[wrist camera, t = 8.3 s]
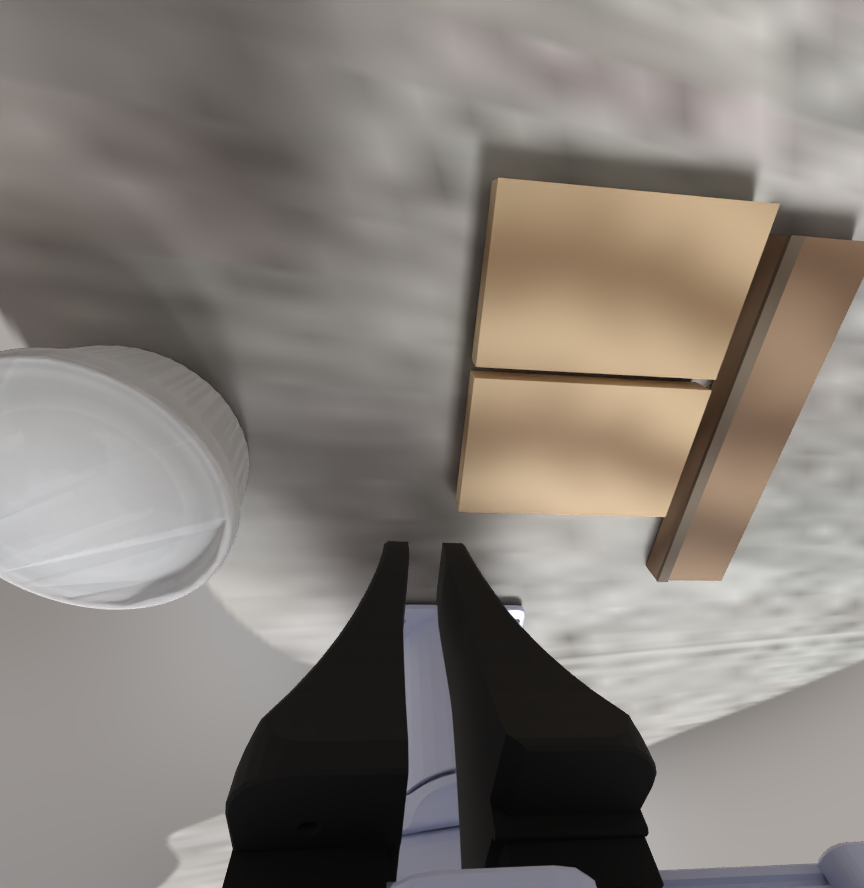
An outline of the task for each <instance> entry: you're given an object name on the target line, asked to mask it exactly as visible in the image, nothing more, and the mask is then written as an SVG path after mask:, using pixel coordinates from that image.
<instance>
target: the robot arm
mask: <svg viewBox="0 0 864 888" xmlns="http://www.w3.org/2000/svg"><path fill="white" fill-rule="evenodd" d="M408 566H409V547H408V542H395V541H388V542H387V543H385V544H384V549H383V553H382V556H381V559H380V562H379V565H378V567H377V570H376V572H375V574H374V576H373V579H372V581H371V583H370V585H369V587H368V589H367V591H366V593H365V595H364V596H363V598H362V600H361V602H360V603H359V605H358V607H357V609H356V610H355V612H354V614H353V615H352V617H351V618H350V620H349V621H348V623H347V624H346V626H345V627H344V629H343V630H342V632H341V633H340V635H339V636H338V637H337V639H336V640H335V641H334V643H333V644H332V645H331V646H330V648H329V649H328V650H327V652H326V653H325V654H324V655H323V657H322V658H321V659H320V660H319V661H318V663H317V664H316V665H315V666H314V667H313V668H312V669H311V670H310V672H309V673H308V674H307V675H306V676H305V677H304V678H303V679H302V680H301V681H300V682H299V683H298V685H297V686H296V687H295V688H294V689H293V690H292V691H291V692H290V693H289V694H288V695H287V696H285V697H284V699H282V700H281V701H280V702H279V703H278V704H277V705H276V706H275V707H274V708H273V709H272V710H271V711H269V713H267V714H266V715H265V716H264V717H263V718H262V719H261V721H260V722H259V724H258V726H257V728H256V730H255V731H254V733H253V735H252V737H251V739H250V741H249V743H248V745H247V747H246V749H245V751H244V753H243V755H242V758H241V760H240V762H239V765H238V767H237V770H236V772H235V776H234V779H233V782H232V785H231V788H230V792H229V795H228V798H227V801H226V811H225V814H226V819H227V824H228V828H229V833H230V838H231V843H232V847H233V851H232V854H231V858H230V862H229V865H228V869H227V872H226V876H225V880H224V883H223V887H222V888H864V842H846V843H839V844H836V845H834V846H832V847H830V848H829V849H827V850H826V851H825V852H824V853H823V854H822V855H821V857H820V858H819V860H818V863H817V864H794V865H772V866H748V867H725V868H702V869H679V870H658V868H657V866H656V863H655V861H654V858H653V856H652V853H651V851H650V848H649V846H648V843H647V841H646V839H645V836H647V835H648V827H647V824H646V822H645V820H644V817H643V815H642V812H641V810H640V809H641V807H642V805H643V803H644V801H645V799H646V798H647V796H648V794H649V792H650V790H651V788H652V786H653V783H654V780H655V776H656V766H655V763H654V761H653V759H652V756H651V755H650V752H649V750H648V748H647V746H646V744H645V742H644V740H643V738H642V737H641V735H640V733H639V731H638V730H637V728H636V727H635V725H634V723H633V722H632V720H631V718H630V716H629V715H628V714H626V713H625V712H623V711H622V710H621V709H619V708H618V707H616V706H615V705H613V704H612V703H610V702H609V701H607V700H606V699H604V698H603V697H601V696H600V695H598V694H597V693H596V692H594V691H593V690H591V689H590V688H589V687H588V686H586V685H585V684H584V683H582V682H581V681H580V680H579V679H577V678H576V677H575V676H573V675H572V674H571V673H570V672H569V671H567V670H566V669H565V668H564V667H563V666H562V665H560V664H559V663H558V662H557V661H556V660H555V659H554V658H553V657H551V656H550V655H549V654H548V653H547V652H546V651H545V650H544V649H543V648H542V647H541V646H540V645H539V644H538V643H537V642H536V641H535V640H534V639H533V638H532V637H531V636H530V635H529V634H528V633H527V632H526V631H525V630H524V629H523V628H522V626H523V622H524V617H525V612H524V609H523V607H521V606H518V605H503V604H502V602H501V601H500V600H499V598H498V597H497V596H496V594H495V593H494V591H493V590H492V589H491V587H490V586H489V584H488V583H487V581H486V580H485V579H484V577H483V576H482V574H481V572H480V571H479V569H478V568H477V566H476V564H475V563H474V561H473V559H472V558H471V556H470V554H469V552H468V551H467V549H466V547H465V546H464V545H463V544H462V543H443V544H442V552H441V561H440V569H439V578H438V586H437V605H405V604H406V591H407V579H408Z"/></svg>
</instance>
